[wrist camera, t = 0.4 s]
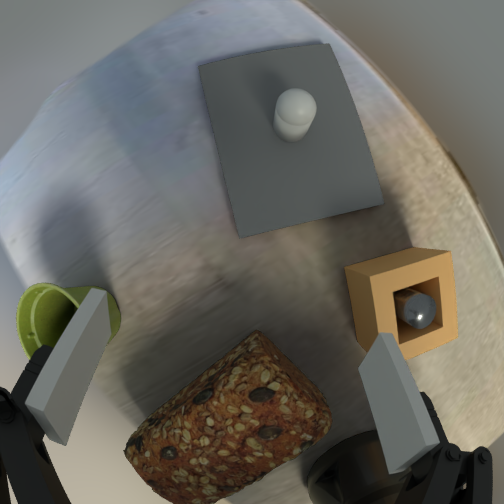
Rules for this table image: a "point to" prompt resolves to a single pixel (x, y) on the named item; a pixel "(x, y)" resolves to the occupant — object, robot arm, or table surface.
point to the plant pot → (53, 314)
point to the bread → (229, 426)
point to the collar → (395, 278)
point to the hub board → (288, 165)
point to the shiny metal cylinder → (414, 307)
